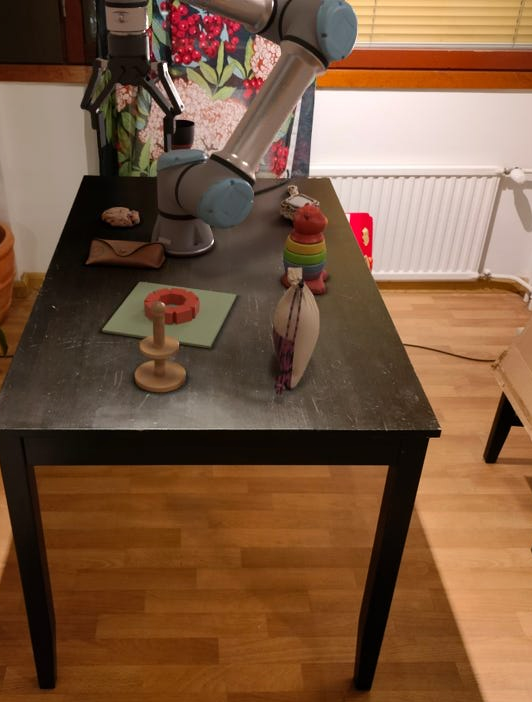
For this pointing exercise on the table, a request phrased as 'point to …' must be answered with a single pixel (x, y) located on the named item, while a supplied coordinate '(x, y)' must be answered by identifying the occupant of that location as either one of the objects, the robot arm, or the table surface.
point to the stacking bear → (307, 248)
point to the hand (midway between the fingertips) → (134, 148)
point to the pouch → (295, 330)
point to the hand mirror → (295, 202)
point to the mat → (191, 333)
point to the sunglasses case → (126, 253)
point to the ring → (175, 297)
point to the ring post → (159, 357)
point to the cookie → (120, 217)
